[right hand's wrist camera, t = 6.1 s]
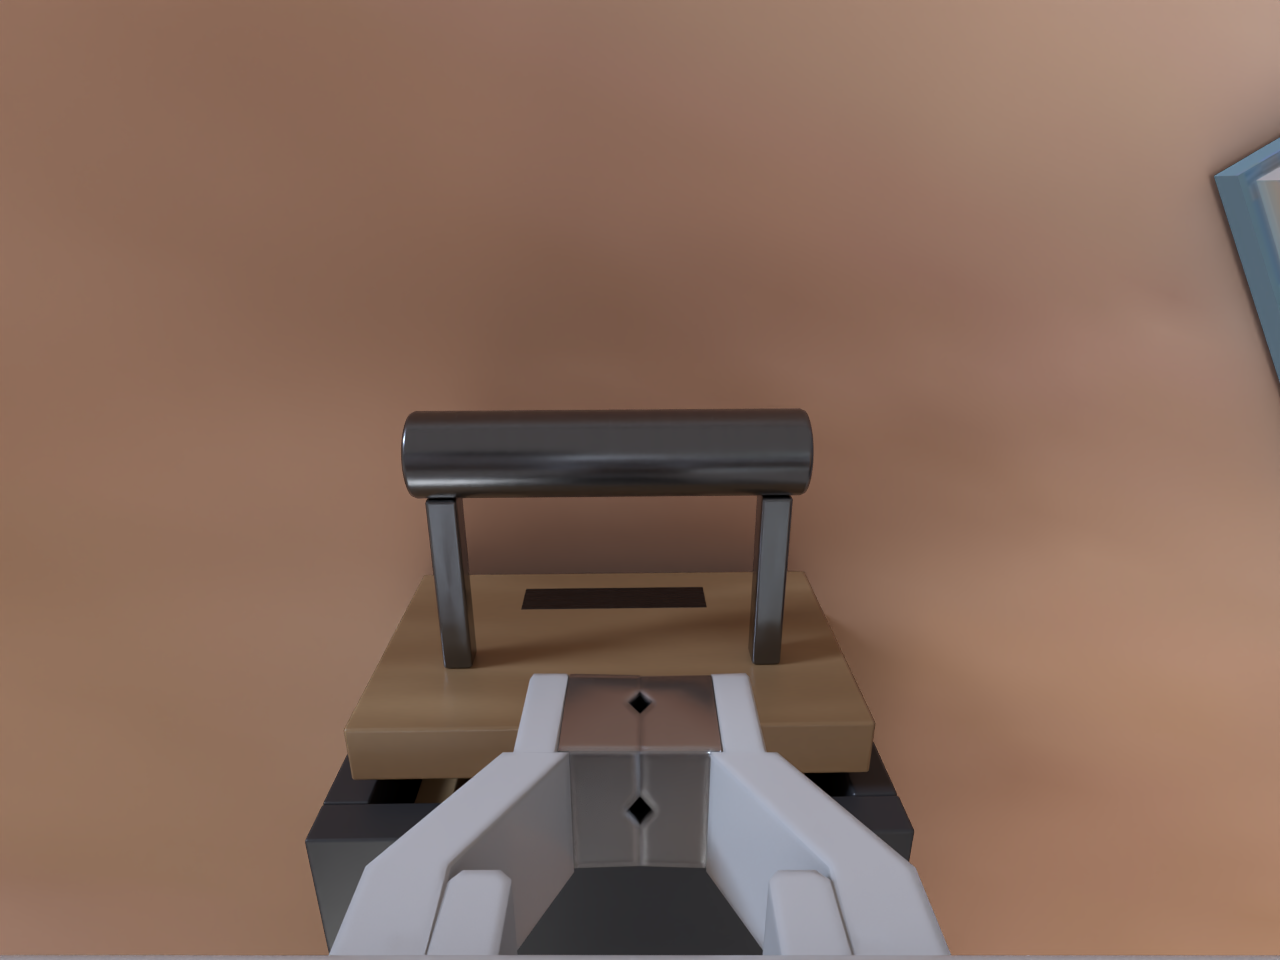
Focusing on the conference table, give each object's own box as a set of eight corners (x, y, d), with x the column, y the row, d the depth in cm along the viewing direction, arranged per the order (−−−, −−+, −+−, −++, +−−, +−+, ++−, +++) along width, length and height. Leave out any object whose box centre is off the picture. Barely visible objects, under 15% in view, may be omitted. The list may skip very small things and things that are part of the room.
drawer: (398, 367, 17) (291, 450, 12) (822, 364, 18) (915, 446, 12) (480, 1054, 26) (442, 1288, 21) (762, 1047, 26) (799, 1278, 21)
